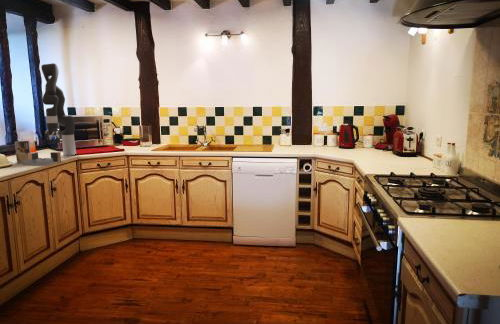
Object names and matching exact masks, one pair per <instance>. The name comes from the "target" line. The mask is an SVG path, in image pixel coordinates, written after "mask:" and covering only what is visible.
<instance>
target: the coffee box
mask: <svg viewBox="0 0 500 324" xmlns="http://www.w3.org/2000/svg"><path fill="white" fill-rule="evenodd" d="M30 144H31V143H30V140H16V141H14V148H15V156H16V157H15V158H16V164H23V163H25V160H26V159H28V153H32V152H31V145H30Z"/></svg>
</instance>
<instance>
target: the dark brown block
mask: <svg viewBox="0 0 500 324" xmlns="http://www.w3.org/2000/svg"><path fill="white" fill-rule="evenodd" d="M50 158H53V162H55V163H56V162H57V163H59V162H62V155H61V151H51V152H50Z"/></svg>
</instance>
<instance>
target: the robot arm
mask: <svg viewBox="0 0 500 324" xmlns="http://www.w3.org/2000/svg"><path fill="white" fill-rule="evenodd" d="M41 71H42V74H43V77H44V79H45V82H46V83H45V85H44V86H45V87H44V88H45V89H44V90H45V91H44V93H43V96H42V99H41V102H42V104H44V105H46V106H51V107H48V108H46V110H45V115H46V117H45V118H46V119H45V122H46V123H45V124H46V129H47V130H44V139H46V140H47V145H52V140H51V139H52V138H53V137H55V143H56V144H60V138H61V140H62V141H61V142H62V143H61V144H62V152H63V153H62V154H63V155H62V156H69V157H70V156H75V154H76V155H77V149H76V142H75V141H76V140H75V127H76V126H75V118H74V116H72V115H69V114H67V115H66V113H65V109H64V108H65V102H66V98H65V95H64V91H63V90H62V88H60V87H59V86H58V85H57V83H58V77H59V72H60V70H59V67H58V65H57V63H53V62H51V63H47V64H46V63H45V64H41ZM59 126H61V127H65V128H64V130H61V129H59Z"/></svg>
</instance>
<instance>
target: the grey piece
mask: <svg viewBox="0 0 500 324" xmlns="http://www.w3.org/2000/svg"><path fill="white" fill-rule="evenodd" d="M55 163H56V162H53V158H51V157H49V158H48V157H43V158H42V157H39V152H37V151H34V152H31V153H28V159H26V160H25V163H22V165H23V166H48V165H52V164H55Z"/></svg>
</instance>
